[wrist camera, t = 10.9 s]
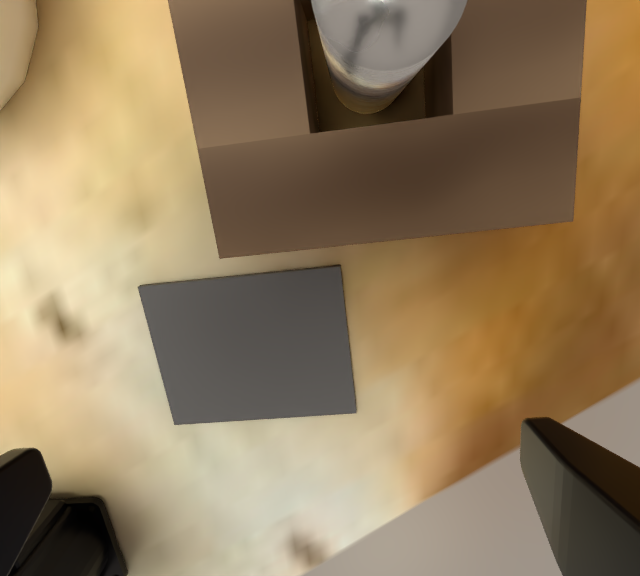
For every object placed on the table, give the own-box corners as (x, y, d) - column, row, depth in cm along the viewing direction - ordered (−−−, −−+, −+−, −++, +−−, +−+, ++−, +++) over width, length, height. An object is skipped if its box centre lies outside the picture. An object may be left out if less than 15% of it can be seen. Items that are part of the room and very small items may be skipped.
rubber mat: (356, 409, 22) (356, 413, 22) (176, 421, 23) (174, 424, 23) (340, 265, 20) (340, 266, 20) (140, 285, 21) (137, 287, 21)
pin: (406, 108, 18) (473, 58, 8) (335, 118, 18) (320, 80, 8) (402, 27, 17) (470, -136, 7) (327, 39, 17) (299, -102, 8)
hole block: (516, 203, 19) (573, 221, 14) (251, 232, 20) (219, 258, 15) (522, -138, 15) (602, -272, 10) (197, -76, 16) (134, -170, 11)
